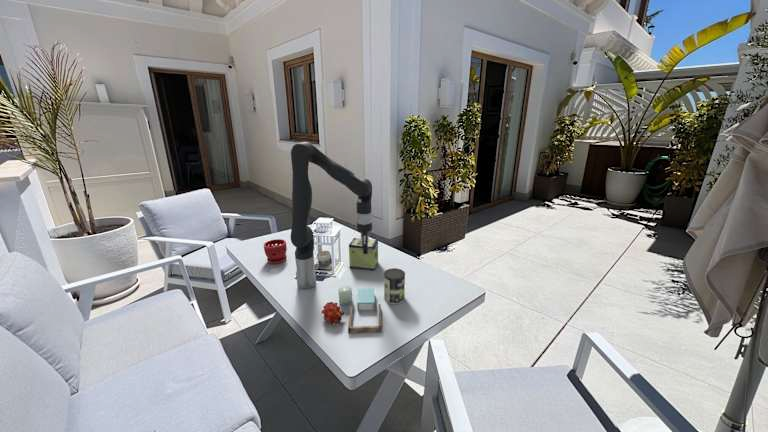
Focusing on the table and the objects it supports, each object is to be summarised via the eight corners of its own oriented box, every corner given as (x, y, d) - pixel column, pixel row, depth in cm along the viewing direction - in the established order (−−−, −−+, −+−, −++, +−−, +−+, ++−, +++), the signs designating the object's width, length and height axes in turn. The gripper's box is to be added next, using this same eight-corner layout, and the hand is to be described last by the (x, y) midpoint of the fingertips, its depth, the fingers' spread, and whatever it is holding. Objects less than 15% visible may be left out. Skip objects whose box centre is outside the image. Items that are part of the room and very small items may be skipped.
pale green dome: (338, 305, 143) (337, 293, 141) (339, 298, 149) (339, 286, 147) (351, 305, 143) (351, 293, 141) (352, 297, 149) (352, 285, 147)
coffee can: (408, 296, 150) (408, 271, 146) (398, 307, 142) (398, 281, 137) (390, 290, 155) (390, 266, 151) (380, 300, 147) (379, 275, 142)
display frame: (348, 333, 126) (347, 328, 125) (351, 309, 141) (350, 304, 140) (381, 332, 126) (381, 327, 125) (380, 308, 141) (380, 304, 140)
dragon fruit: (326, 314, 140) (341, 330, 132) (313, 312, 133) (328, 329, 125) (336, 298, 140) (351, 313, 132) (323, 296, 133) (338, 312, 126)
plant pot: (292, 258, 189) (290, 241, 185) (275, 267, 179) (272, 249, 175) (278, 253, 196) (276, 236, 192) (261, 261, 185) (258, 244, 181)
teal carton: (357, 311, 140) (357, 303, 138) (358, 295, 151) (358, 288, 150) (374, 310, 140) (374, 302, 139) (374, 295, 152) (374, 287, 150)
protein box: (374, 270, 174) (374, 246, 169) (349, 268, 177) (348, 244, 172) (378, 262, 184) (378, 239, 178) (354, 260, 187) (353, 237, 181)
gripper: (357, 216, 149) (358, 247, 155) (355, 226, 137) (357, 259, 142) (372, 216, 149) (373, 247, 155) (372, 225, 137) (372, 259, 143)
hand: (365, 253), depth 149 cm, fingers closed
